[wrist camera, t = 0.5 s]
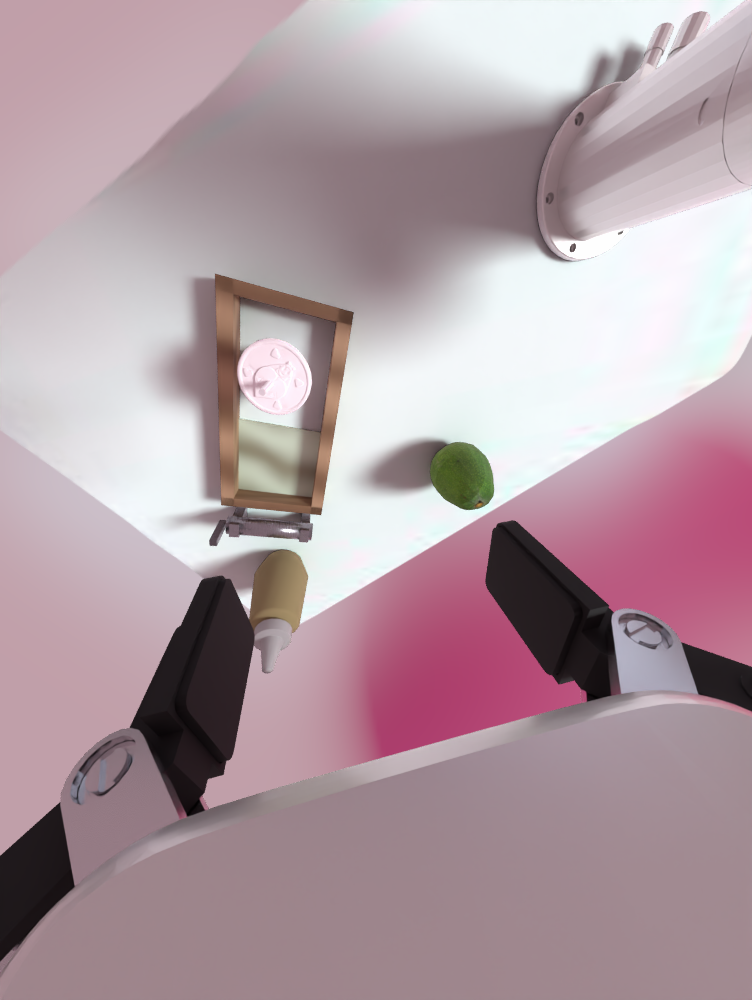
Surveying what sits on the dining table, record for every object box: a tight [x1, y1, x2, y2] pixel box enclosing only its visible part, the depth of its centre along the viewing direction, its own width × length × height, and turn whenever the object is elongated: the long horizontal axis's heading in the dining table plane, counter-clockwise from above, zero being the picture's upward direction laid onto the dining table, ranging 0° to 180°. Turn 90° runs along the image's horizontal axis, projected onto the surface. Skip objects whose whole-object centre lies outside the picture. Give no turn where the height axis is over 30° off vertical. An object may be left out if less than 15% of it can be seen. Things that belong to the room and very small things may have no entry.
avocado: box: [430, 442, 494, 510], centre depth 39 cm, size 8×8×12 cm
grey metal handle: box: [209, 507, 313, 546], centre depth 40 cm, size 2×12×8 cm, turn 77°
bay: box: [215, 274, 354, 515], centre depth 36 cm, size 25×13×3 cm, turn 167°
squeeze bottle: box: [249, 550, 308, 673], centre depth 41 cm, size 8×8×18 cm
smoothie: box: [237, 338, 312, 415], centre depth 28 cm, size 6×6×14 cm
